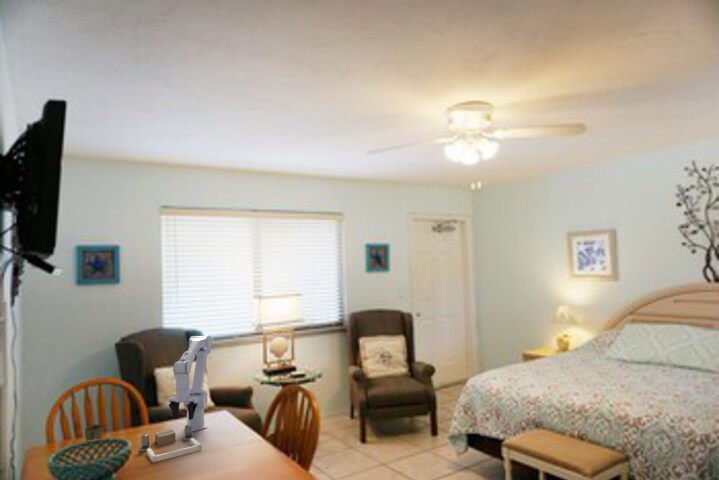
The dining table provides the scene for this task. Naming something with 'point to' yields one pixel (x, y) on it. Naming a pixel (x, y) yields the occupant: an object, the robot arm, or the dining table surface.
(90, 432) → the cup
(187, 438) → the post
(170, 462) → the dining table surface
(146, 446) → the post
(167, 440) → the walnut block
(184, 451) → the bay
